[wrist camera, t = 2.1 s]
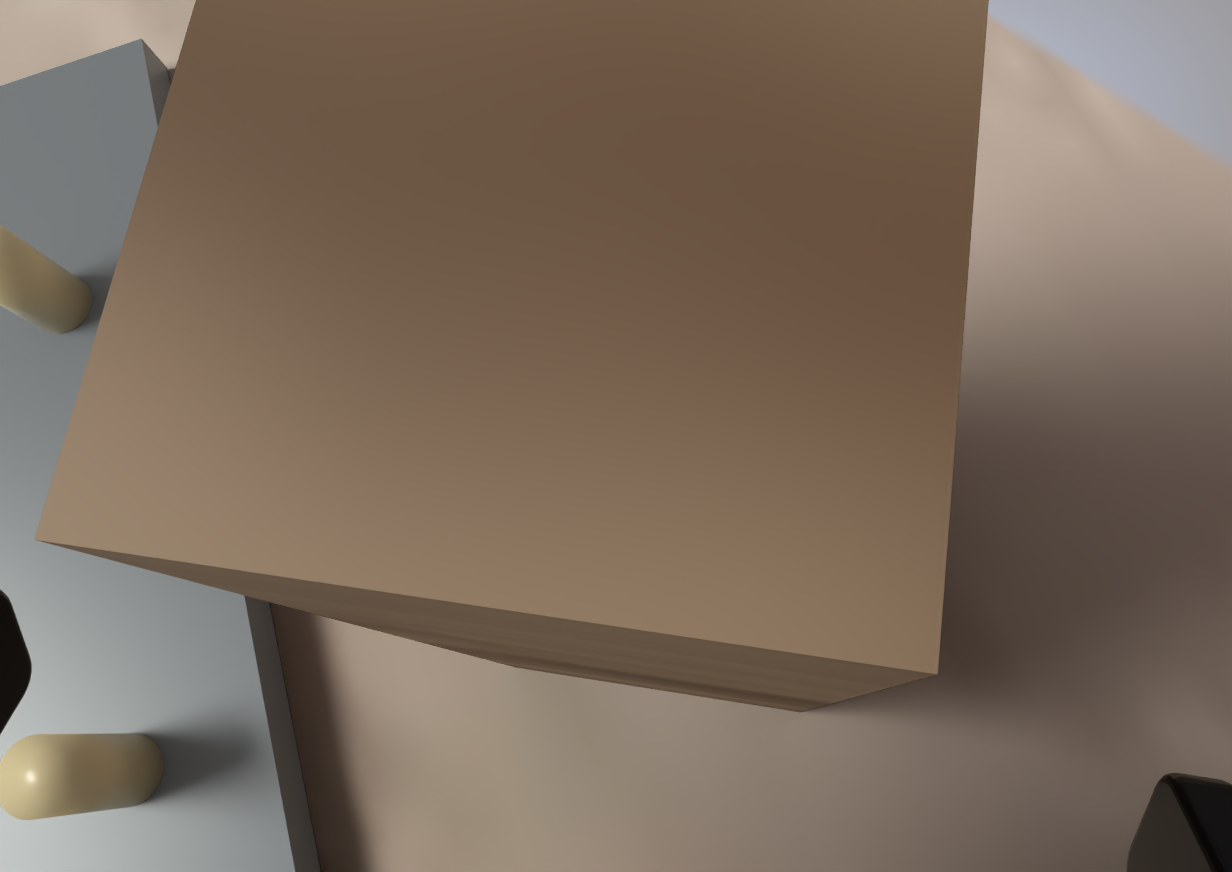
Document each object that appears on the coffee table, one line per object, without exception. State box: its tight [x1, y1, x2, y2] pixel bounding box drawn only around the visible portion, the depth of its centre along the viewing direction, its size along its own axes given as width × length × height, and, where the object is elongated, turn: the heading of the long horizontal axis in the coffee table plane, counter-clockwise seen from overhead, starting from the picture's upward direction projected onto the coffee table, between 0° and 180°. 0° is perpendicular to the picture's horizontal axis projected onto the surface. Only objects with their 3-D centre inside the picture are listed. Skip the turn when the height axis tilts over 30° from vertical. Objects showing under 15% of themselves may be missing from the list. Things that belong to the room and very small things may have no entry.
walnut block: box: [34, 0, 989, 712], centre depth 12 cm, size 5×5×13 cm
